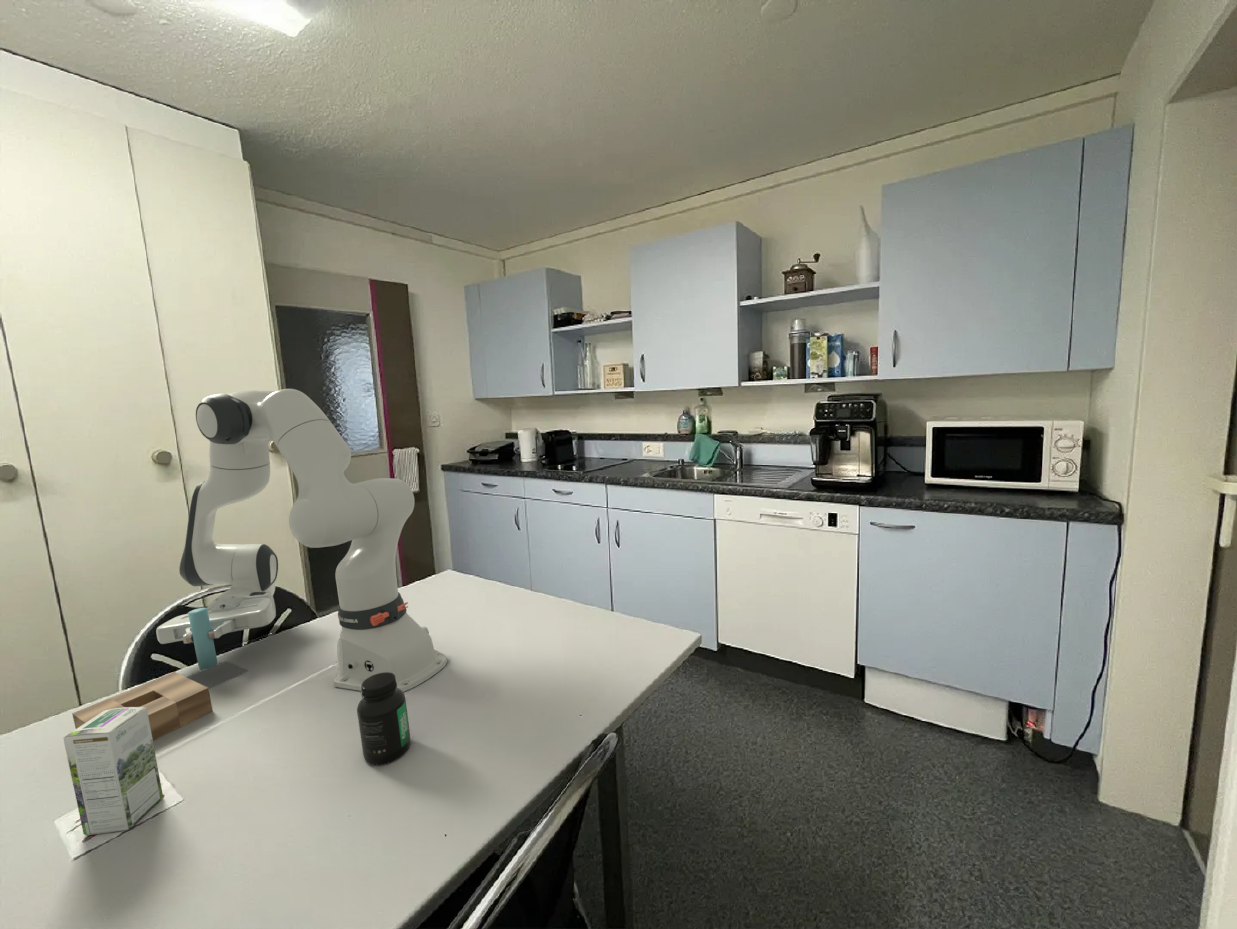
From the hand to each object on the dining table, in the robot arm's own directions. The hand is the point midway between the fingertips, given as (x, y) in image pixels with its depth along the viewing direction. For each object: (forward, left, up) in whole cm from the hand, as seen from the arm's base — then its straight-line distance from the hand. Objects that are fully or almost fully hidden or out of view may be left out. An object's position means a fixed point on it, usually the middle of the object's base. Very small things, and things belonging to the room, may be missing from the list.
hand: (200, 637), depth 101 cm
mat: (+1, -1, -10) cm, 10 cm away
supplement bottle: (-54, -2, -10) cm, 55 cm away
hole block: (-7, +12, -10) cm, 17 cm away
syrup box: (-31, +22, -10) cm, 39 cm away
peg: (+1, -1, -7) cm, 7 cm away
